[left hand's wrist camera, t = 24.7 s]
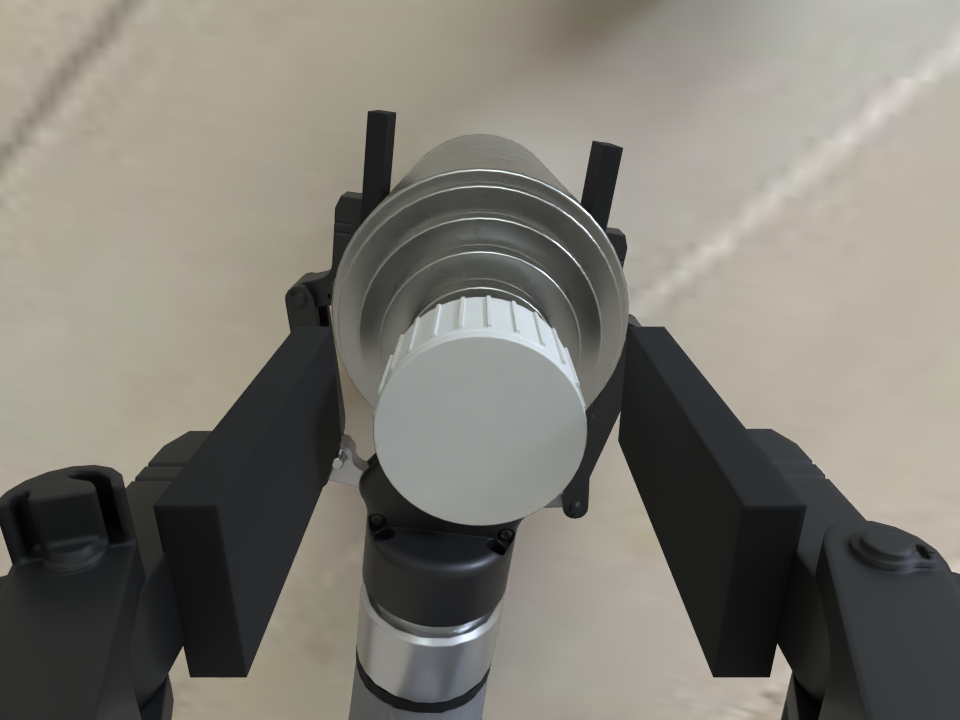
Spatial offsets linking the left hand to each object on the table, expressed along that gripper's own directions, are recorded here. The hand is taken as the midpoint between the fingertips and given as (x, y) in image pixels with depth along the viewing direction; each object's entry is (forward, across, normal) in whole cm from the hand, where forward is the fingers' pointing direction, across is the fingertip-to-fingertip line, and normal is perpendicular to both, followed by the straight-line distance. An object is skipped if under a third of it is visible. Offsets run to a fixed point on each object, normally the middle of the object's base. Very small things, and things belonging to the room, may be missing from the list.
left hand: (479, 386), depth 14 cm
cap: (-2, 0, 0) cm, 2 cm away
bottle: (+21, 0, 0) cm, 21 cm away
